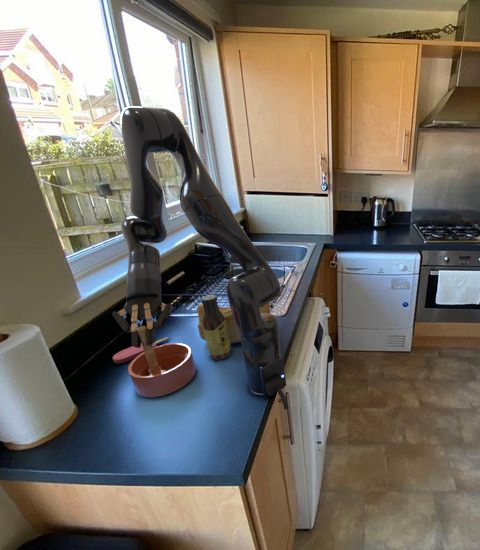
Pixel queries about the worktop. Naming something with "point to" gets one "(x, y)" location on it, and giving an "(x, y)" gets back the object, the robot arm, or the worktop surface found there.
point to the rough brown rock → (230, 323)
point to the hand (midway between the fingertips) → (143, 345)
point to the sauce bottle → (215, 329)
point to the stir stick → (149, 352)
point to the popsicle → (131, 353)
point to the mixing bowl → (170, 359)
